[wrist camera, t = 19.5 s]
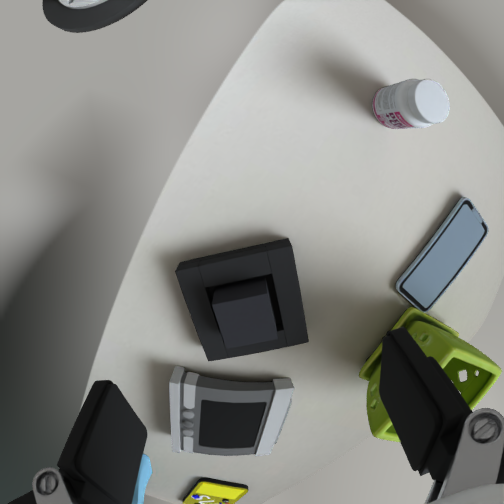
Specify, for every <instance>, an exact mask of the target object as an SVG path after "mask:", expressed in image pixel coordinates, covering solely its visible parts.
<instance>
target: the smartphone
mask: <svg viewBox="0 0 504 504" xmlns="http://www.w3.org/2000/svg"><path fill="white" fill-rule="evenodd" d="M487 234H488V226H487V224H486V222H485V221H484V219H483V218H482V216H481V215H480V213H479V212H478V210H477V209H476V208H475V206H474V205H473V203H472V202H471V200H470V199H468V198H465V197H463V198H461V199H460V200H459V201H458V203H457V204H456V206H455V207H454V209H453V210H452V211H451V213H450V214H449V216H448V217H447V218H446V220H445V221H444V223H443V224H442V225H441V227H440V228H439V229H438V231H437V232H436V233H435V235H434V236H433V237H432V239H431V240H430V241H429V243H428V244H427V245H426V246H425V248H424V249H423V250H422V252H421V253H420V254H419V255H418V257H417V258H416V259H415V260H414V261H413V263H412V264H411V265H410V266H409V268H408V269H407V270H406V271H405V272H404V274H403V275H402V276H401V277H400V278H399V279H398V281H397V283H396V289H397V291H398V292H399V293H400V294H401V295H403V296H404V297H405V298H406V299H407V300H408V301H409V302H411V303H412V304H413V305H414V306H415V307H416V308H417V309H418V310H420V311H422V312H424V313H425V312H427V311H429V310H430V309H431V308H432V306H433V305H434V304H435V303H436V302H437V301H438V299H439V298H440V297H441V296H442V295H443V293H444V292H445V291H446V290H447V289H448V287H449V286H450V285H451V284H452V282H453V281H454V280H455V279H456V277H457V276H458V275H459V273H460V272H461V271H462V270H463V268H464V267H465V266H466V264H467V263H468V262H469V260H470V259H471V257H472V256H473V255H474V253H475V252H476V250H477V249H478V248H479V246H480V245H481V243H482V242H483V240H484V239H485V237H486V236H487Z"/></svg>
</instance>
